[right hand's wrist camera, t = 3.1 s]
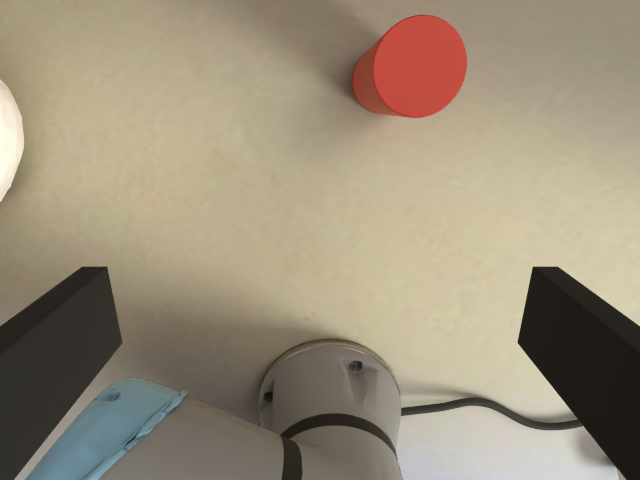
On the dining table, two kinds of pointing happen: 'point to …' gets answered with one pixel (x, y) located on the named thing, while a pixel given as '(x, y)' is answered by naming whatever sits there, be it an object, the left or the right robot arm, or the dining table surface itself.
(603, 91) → the dining table surface
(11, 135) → the skull
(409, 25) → the canister
